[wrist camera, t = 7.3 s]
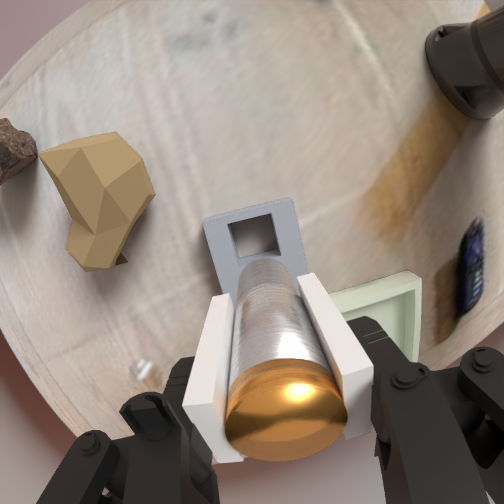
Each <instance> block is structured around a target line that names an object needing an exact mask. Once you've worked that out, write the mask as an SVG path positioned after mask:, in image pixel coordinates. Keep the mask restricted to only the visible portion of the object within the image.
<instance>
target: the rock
mask: <svg viewBox="0 0 504 504" xmlns="http://www.w3.org/2000/svg"><path fill="white" fill-rule="evenodd" d="M37 157H38V152H37V149H36V143H35V141H34V140H33V138H32V137H31V136H30V134H29V133H26V132H24V131H18V130H17V129H16V128H14V127H13V126H12V125H11V123H10V121H9V120H8V119H7V118H4V119H0V185H1V184H2V183H4V182H5V181H6V180H7V179H9V178H11V177H12V176H14V175H16V174H18V173H19V172H20V171H22V169H23V168H24V167H26V166H27V165H28V164H30V163H31V162H32V161H33V160H34V159H35V158H37Z"/></svg>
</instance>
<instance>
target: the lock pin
mask: <svg viewBox="0 0 504 504" xmlns="http://www.w3.org/2000/svg"><path fill="white" fill-rule="evenodd" d="M347 421H348V414H347V410H346V408H345V405H344V403H343V400H342V398H341V395H340V392H339V390H338V387H337V385H336V382H335V380H334V377H333V375H332V372H331V370H330V367H329V365H328V362H327V360H326V357H325V355H324V353H323V350H322V348H321V345H320V343H319V340H318V338H317V336H316V333H315V331H314V328H313V326H312V323H311V321H310V319H309V316H308V314H307V312H306V309H305V307H304V305H303V302H302V300H301V297H300V295H299V293H298V290H297V288H296V286H295V283H294V281H293V279H292V276H291V274H290V272H289V270H288V269H287V267H286V266H285V265H284V264H282V263H281V262H279V261H277V260H275V259H271V258H261V259H257V260H254V261H252V262H251V263H249V264H248V265H246V267H245V268H244V269H243V270H242V272H241V274H240V276H239V280H238V290H237V301H236V311H235V322H234V333H233V344H232V355H231V366H230V378H229V389H228V401H227V413H226V425H225V434H226V438H227V440H228V442H229V443H230V444H231V446H232V447H233V448H235V449H236V450H237V451H239V452H240V453H242V454H244V455H246V456H248V457H251V458H255V459H259V460H265V461H290V460H296V459H300V458H304V457H307V456H310V455H313V454H315V453H317V452H319V451H321V450H323V449H325V448H327V447H328V446H329V445H331V444H332V443H333V442H334V441H336V440H337V439H338V438H339V436H340V435H341V434H342V433H343V431H344V429H345V427H346V425H347Z"/></svg>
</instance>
